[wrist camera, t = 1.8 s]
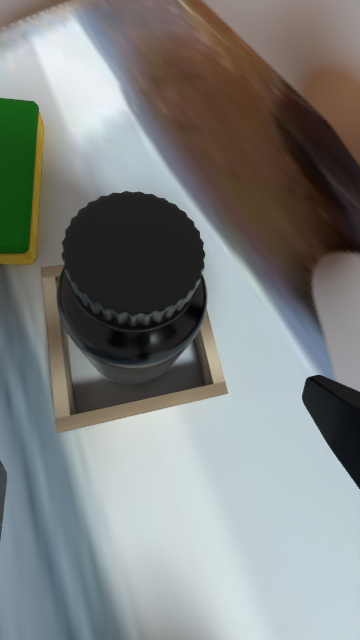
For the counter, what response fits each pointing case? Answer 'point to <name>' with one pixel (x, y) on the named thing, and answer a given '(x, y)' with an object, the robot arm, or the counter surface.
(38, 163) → the dish sponge
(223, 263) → the counter surface
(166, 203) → the supplement bottle
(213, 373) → the frame
